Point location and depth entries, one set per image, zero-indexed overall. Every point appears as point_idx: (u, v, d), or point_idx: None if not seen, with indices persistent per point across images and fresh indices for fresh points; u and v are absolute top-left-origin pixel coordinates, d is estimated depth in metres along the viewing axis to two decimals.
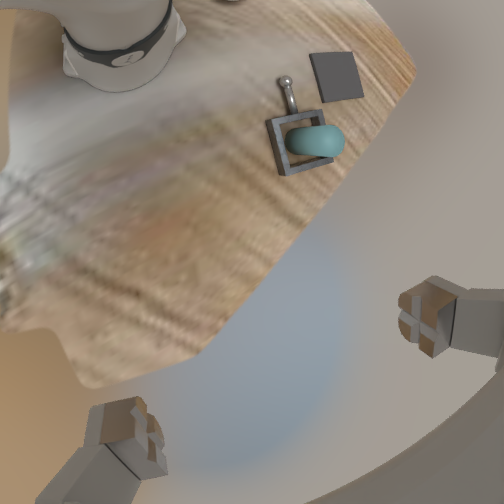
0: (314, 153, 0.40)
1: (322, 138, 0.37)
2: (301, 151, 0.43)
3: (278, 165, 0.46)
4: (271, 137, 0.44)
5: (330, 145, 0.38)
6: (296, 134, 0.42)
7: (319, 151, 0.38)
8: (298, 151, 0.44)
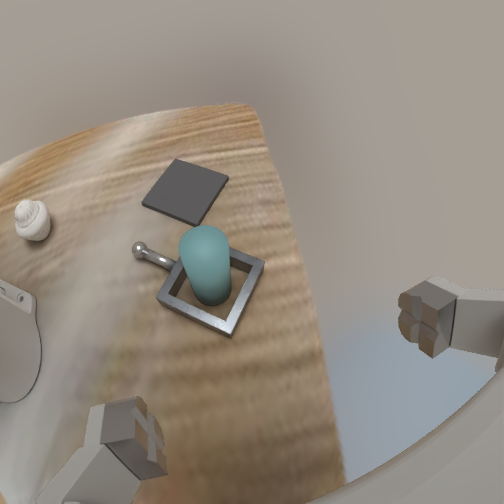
0: (212, 280, 0.27)
1: (190, 256, 0.26)
2: (211, 293, 0.30)
3: (217, 331, 0.32)
4: (180, 313, 0.33)
5: (207, 252, 0.26)
6: None
7: (203, 271, 0.26)
8: (212, 296, 0.31)
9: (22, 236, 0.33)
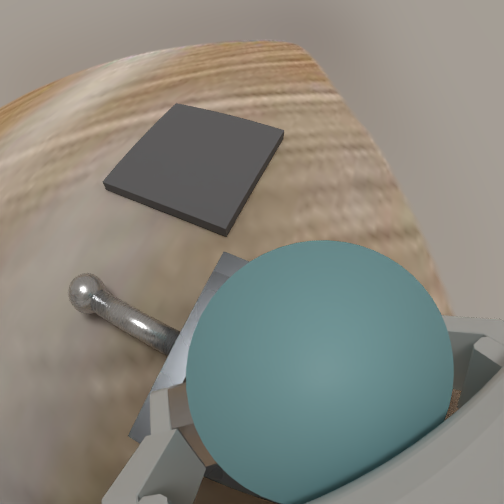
0: None
1: (264, 438, 0.04)
2: None
3: None
4: None
5: (365, 406, 0.04)
6: None
7: None
8: None
9: None
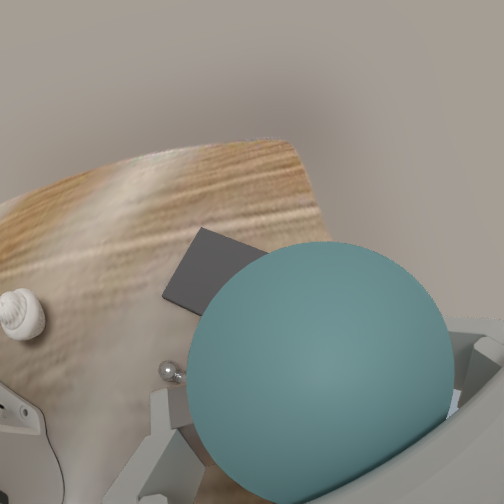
0: None
1: (265, 440, 0.04)
2: None
3: None
4: None
5: (366, 408, 0.04)
6: None
7: None
8: None
9: (12, 338, 0.24)
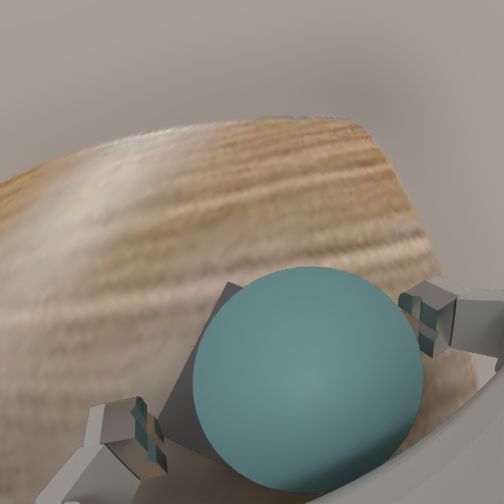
0: None
1: (257, 433, 0.04)
2: None
3: None
4: None
5: (341, 409, 0.05)
6: None
7: (320, 485, 0.04)
8: None
9: None
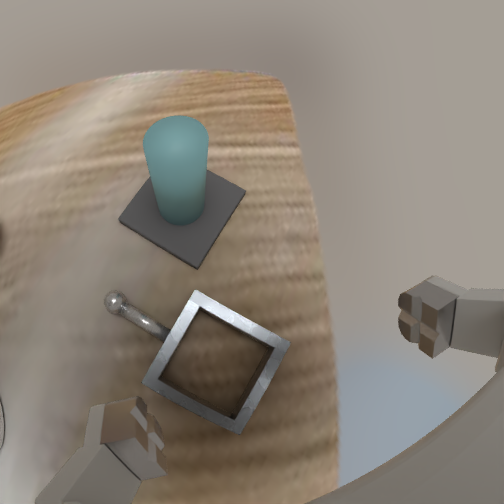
0: (181, 185, 0.20)
1: (156, 149, 0.18)
2: (178, 205, 0.23)
3: None
4: None
5: (179, 146, 0.18)
6: None
7: (170, 170, 0.18)
8: (179, 211, 0.24)
9: None
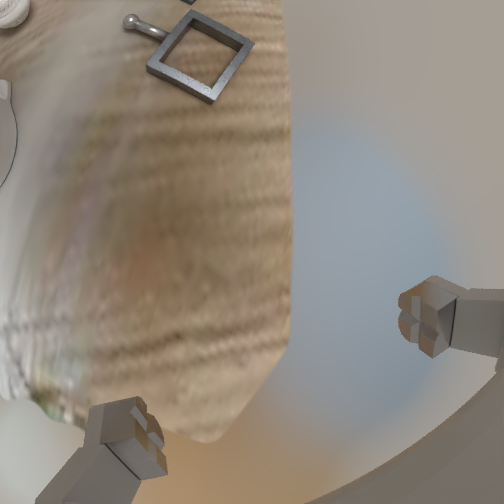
0: None
1: None
2: None
3: (200, 97, 0.31)
4: (166, 79, 0.29)
5: None
6: None
7: None
8: None
9: None
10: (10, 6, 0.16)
